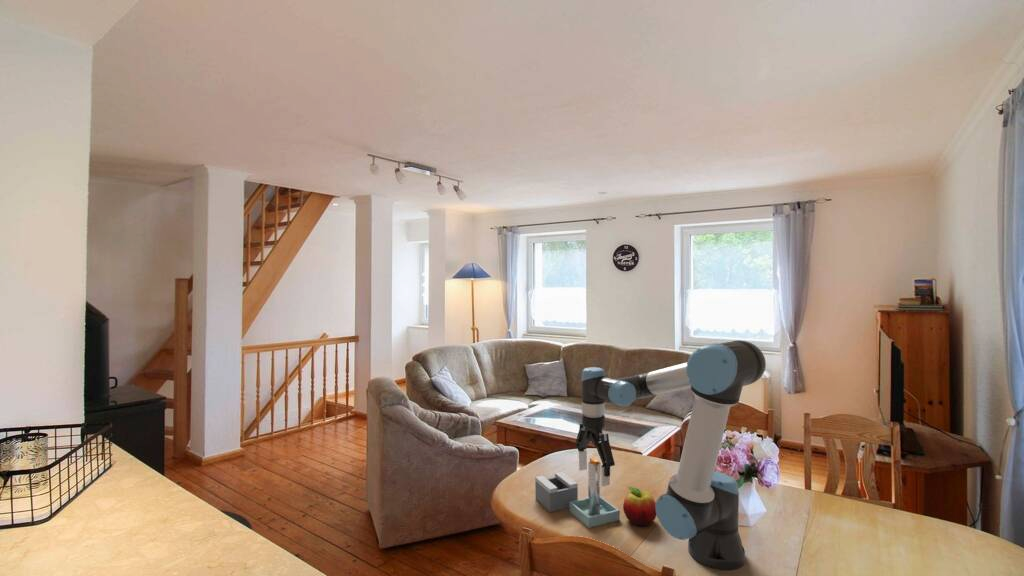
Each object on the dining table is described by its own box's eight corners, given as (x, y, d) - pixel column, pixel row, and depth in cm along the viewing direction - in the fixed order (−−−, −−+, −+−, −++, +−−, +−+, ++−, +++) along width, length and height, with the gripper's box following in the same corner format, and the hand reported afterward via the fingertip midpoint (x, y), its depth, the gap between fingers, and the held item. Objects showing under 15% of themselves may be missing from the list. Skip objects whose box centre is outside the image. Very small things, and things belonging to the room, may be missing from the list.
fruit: (637, 533, 150) (637, 501, 150) (616, 517, 160) (616, 487, 160) (664, 525, 155) (664, 494, 155) (641, 510, 165) (641, 481, 164)
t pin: (605, 516, 159) (605, 462, 158) (595, 519, 157) (595, 464, 157) (593, 507, 166) (593, 454, 165) (583, 509, 164) (583, 456, 163)
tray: (619, 519, 158) (619, 510, 158) (588, 527, 154) (588, 518, 154) (599, 504, 169) (598, 495, 169) (569, 511, 165) (569, 501, 165)
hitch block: (577, 505, 168) (577, 483, 168) (549, 512, 164) (549, 489, 164) (562, 492, 178) (561, 471, 178) (535, 498, 174) (535, 476, 174)
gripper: (625, 423, 151) (626, 490, 151) (583, 403, 173) (583, 462, 174) (605, 426, 148) (606, 494, 148) (564, 406, 170) (565, 465, 171)
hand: (593, 477), depth 161 cm, fingers open, 13 cm apart
